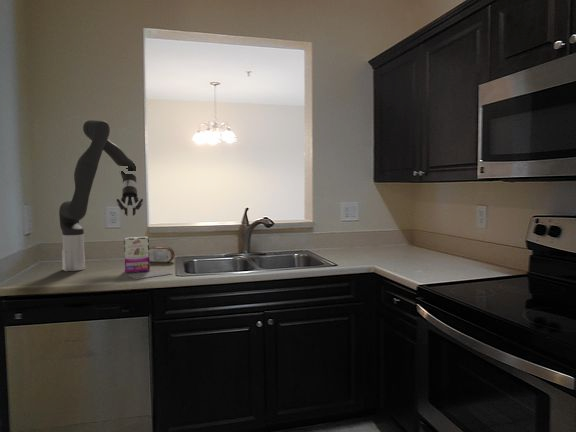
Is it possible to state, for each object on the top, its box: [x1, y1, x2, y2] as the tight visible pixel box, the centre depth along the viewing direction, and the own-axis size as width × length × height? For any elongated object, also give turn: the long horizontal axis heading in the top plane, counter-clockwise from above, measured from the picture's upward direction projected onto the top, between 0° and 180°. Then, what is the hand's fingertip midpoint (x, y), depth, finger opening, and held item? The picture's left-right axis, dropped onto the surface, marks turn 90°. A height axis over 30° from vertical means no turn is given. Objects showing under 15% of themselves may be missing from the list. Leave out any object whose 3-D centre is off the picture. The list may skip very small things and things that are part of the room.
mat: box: [127, 269, 173, 280], centre depth 191 cm, size 17×9×1 cm, turn 130°
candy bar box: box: [123, 236, 151, 274], centre depth 199 cm, size 11×5×16 cm, turn 114°
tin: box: [149, 245, 175, 264], centre depth 222 cm, size 15×3×8 cm, turn 84°
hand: (130, 214), depth 213 cm, fingers open, 2 cm apart
